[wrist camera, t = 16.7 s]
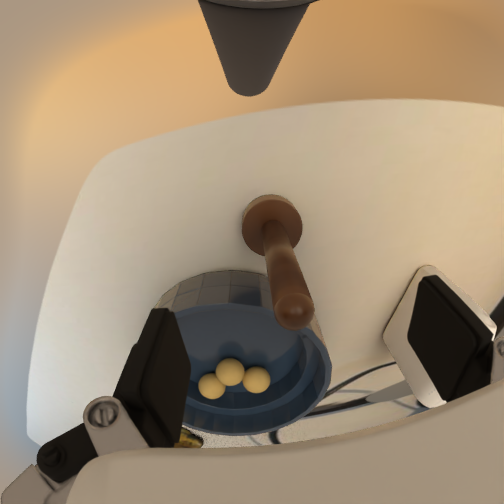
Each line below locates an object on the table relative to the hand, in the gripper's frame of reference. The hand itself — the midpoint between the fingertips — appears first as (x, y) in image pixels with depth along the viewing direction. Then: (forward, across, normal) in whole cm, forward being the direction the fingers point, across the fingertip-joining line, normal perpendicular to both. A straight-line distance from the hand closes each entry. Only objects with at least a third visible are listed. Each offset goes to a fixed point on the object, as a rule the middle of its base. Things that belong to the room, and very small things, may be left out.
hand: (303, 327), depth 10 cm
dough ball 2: (+13, +6, +16) cm, 21 cm away
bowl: (+15, +5, +14) cm, 21 cm away
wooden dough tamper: (+16, 0, +1) cm, 16 cm away
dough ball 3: (+13, +3, +18) cm, 22 cm away
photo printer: (+15, -15, +12) cm, 25 cm away
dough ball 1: (+13, +8, +18) cm, 24 cm away
